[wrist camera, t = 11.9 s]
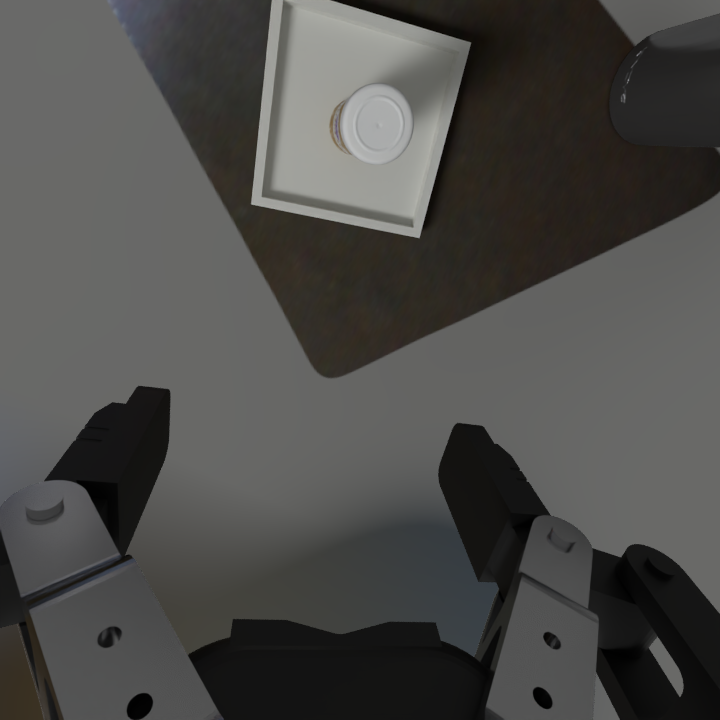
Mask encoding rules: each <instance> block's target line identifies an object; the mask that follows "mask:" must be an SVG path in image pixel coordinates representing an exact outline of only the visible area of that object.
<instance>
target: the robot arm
mask: <svg viewBox="0 0 720 720" xmlns="http://www.w3.org/2000/svg"><path fill="white" fill-rule="evenodd" d="M609 104H610V116H611V120H612V123H613V125H614V127H615V129H616V131H617V132H618V134H619V135H620V136H621V137H622V138H623V139H625V140H627V141H628V142H630V143H633V144H637V145H657V146H686V147H720V14H717V15H713V16H710V17H706V18H703V19H699V20H695V21H692V22H689V23H686V24H682V25H678V26H675V27H672V28H668V29H665V30H661V31H658V32H656V33H654V34H652V35H650V36H648V37H646V38H645V39H644V40H642V41H641V42H640V43H638V44H637V45H636V46H635V47H634V48H633V49H632V50H631V51H630V52H629V54H628V55H627V56H626V58H625V59H624V61H623V62H622V64H621V65H620V67H619V69H618V71H617V74H616V76H615V78H614V81H613V85H612V88H611V93H610V101H609ZM169 426H170V390H169V389H163V388H154V387H145V386H138V387H137V388H136V389H135V391H134V392H133V394H132V395H131V397H130V398H129V400H128V401H127V403H126V404H122V403H113V402H112V403H111V404H109V405H108V406H106V407H104V408H102V409H101V410H99V411H97V412H96V413H94V415H93V416H92V418H91V419H90V420H89V421H88V423H87V424H86V425H85V428H84V429H82V431H81V432H80V433H79V435H78V436H77V438H76V441H74V442H73V443H72V444H71V446H70V447H69V449H68V450H67V451H66V452H65V454H64V455H63V456H62V458H61V459H60V460H59V462H58V463H57V464H56V466H55V467H54V468H53V470H52V471H51V472H50V474H49V475H48V477H47V478H46V479H45V481H44V482H40V483H36V484H33V485H30V486H28V487H25V488H23V489H21V490H19V491H18V492H16V493H14V494H13V495H12V496H10V497H9V498H8V499H7V500H6V501H5V502H4V503H3V504H2V506H1V507H0V628H2V627H5V626H9V625H13V624H17V625H18V629H19V632H20V636H21V639H22V642H23V646H24V649H25V653H26V656H27V660H28V663H29V667H30V670H31V673H32V677H33V680H34V684H35V687H36V691H37V694H38V697H39V701H40V705H41V708H42V713H43V717H44V720H593V711H594V695H595V677H596V673H597V675H598V677H599V679H600V681H601V683H602V685H603V687H604V688H605V691H606V693H607V695H608V697H609V698H610V700H611V703H612V705H613V706H614V708H615V710H616V712H617V714H618V716H619V718H620V720H720V614H719V613H718V611H717V610H716V609H715V608H714V606H713V605H712V604H711V603H710V602H709V601H708V599H707V598H706V597H705V596H704V594H703V593H702V592H701V591H700V590H699V588H698V587H697V586H696V585H695V583H694V582H693V581H692V580H691V579H690V577H689V576H688V575H687V574H686V573H685V571H684V570H683V569H682V568H681V567H680V566H679V565H678V564H677V563H676V562H674V561H673V560H672V559H670V558H669V557H668V556H666V555H665V554H663V553H661V552H660V551H658V550H655V549H653V548H651V547H648V546H645V545H640V544H634V545H631V546H629V547H628V548H627V549H626V551H625V553H624V554H623V555H622V557H618V556H614V555H611V554H608V553H605V552H602V551H599V550H596V549H593V548H592V547H591V544H590V542H589V541H588V539H587V538H586V537H585V535H584V534H583V533H582V532H581V531H580V530H578V529H577V528H576V527H575V526H573V525H572V524H570V523H568V522H567V521H565V520H562V519H560V518H557V517H554V516H551V515H550V514H549V512H548V511H547V509H546V508H545V506H544V505H543V503H542V502H541V500H540V499H539V497H538V496H537V494H536V493H535V491H534V490H533V488H532V486H531V485H530V483H529V482H527V481H526V480H527V479H526V477H525V476H524V474H523V473H522V471H520V468H519V467H518V465H517V464H516V463H515V461H514V459H513V458H512V456H511V455H510V454H508V453H507V452H506V451H505V450H504V449H503V448H502V447H500V446H499V445H498V444H494V442H493V441H492V439H491V438H490V436H489V434H488V433H487V431H486V430H485V428H484V427H483V426H479V425H471V424H462V423H457V424H456V425H455V426H454V427H453V429H452V432H451V435H450V437H449V440H448V443H447V446H446V448H445V451H444V454H443V457H442V459H441V462H440V466H439V473H438V477H439V484H440V487H441V489H442V492H443V494H444V497H445V499H446V502H447V504H448V507H449V509H450V512H451V514H452V517H453V519H454V522H455V524H456V527H457V529H458V532H459V534H460V537H461V539H462V542H463V544H464V547H465V549H466V552H467V554H468V557H469V559H470V562H471V564H472V566H473V569H474V572H475V574H476V577H477V579H478V582H496V583H497V585H498V587H499V589H498V592H497V594H496V595H495V597H494V600H493V603H492V606H491V609H490V612H489V615H488V618H487V621H486V624H485V627H484V630H483V633H482V636H481V639H480V642H479V645H478V648H477V651H476V654H475V656H474V657H473V656H471V655H470V654H468V653H467V652H465V651H463V650H461V649H459V648H458V647H456V646H453V645H451V644H449V643H446V642H443V641H441V640H440V636H439V633H438V629H437V626H436V623H431V622H387V623H383V624H379V625H376V626H372V627H368V628H364V629H361V630H357V631H354V632H350V633H346V634H335V633H331V632H327V631H324V630H320V629H316V628H313V627H309V626H306V625H302V624H298V623H295V622H291V621H288V620H252V619H251V620H250V619H233V623H232V629H231V637H229V638H225V639H222V640H218V641H216V642H213V643H211V644H208V645H205V646H203V647H201V648H199V649H197V650H195V651H194V652H192V653H190V654H189V655H187V653H186V651H185V649H184V648H183V646H182V644H181V642H180V640H179V639H178V637H177V635H176V633H175V631H174V629H173V628H172V626H171V624H170V622H169V620H168V619H167V617H166V615H165V613H164V611H163V609H162V608H161V606H160V604H159V602H158V600H157V598H156V597H155V595H154V593H153V591H152V589H151V587H150V586H149V584H148V582H147V580H146V578H145V576H144V575H143V573H142V571H141V569H140V567H139V566H138V564H137V562H136V561H135V559H134V558H133V557H132V556H131V555H126V556H125V554H126V551H127V549H128V547H129V544H130V542H131V540H132V537H133V535H134V532H135V530H136V528H137V525H138V523H139V520H140V518H141V516H142V513H143V511H144V509H145V506H146V504H147V501H148V499H149V497H150V494H151V492H152V489H153V487H154V485H155V482H156V480H157V477H158V475H159V473H160V470H161V468H162V466H163V463H164V461H165V457H166V454H167V449H168V443H169ZM657 636H658V638H659V639H660V640H661V642H662V644H663V645H664V646H665V648H666V650H667V651H668V653H669V654H670V656H671V657H672V658H673V660H674V662H675V663H676V665H677V666H678V668H679V670H680V672H681V675H682V678H683V684H684V689H683V693H682V695H681V697H679V695H678V694H677V692H676V691H675V689H674V688H673V686H672V684H671V683H670V681H669V680H668V678H667V676H666V675H665V673H664V672H663V670H662V669H661V667H660V665H659V664H658V662H657V661H656V659H655V657H654V656H653V654H652V653H651V651H650V650H649V647H650V645H651V644H652V643H653V641H654V640H655V639H656V638H657Z"/></svg>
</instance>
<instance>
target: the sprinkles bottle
mask: <svg viewBox="0 0 720 720" xmlns="http://www.w3.org/2000/svg"><path fill="white" fill-rule="evenodd" d="M329 128H330V135H331V138H332V140H333V142H334V144H335V145H336V146H337V148H338V149H339V150H341V151H342V152H344V153H346V154H349V155H352V156H354V157H355V158H357V159H358V160H360V161H362V162H365V163H367V164H372V165H383V164H387V163H389V162H392V161H394V160H395V159H397V158H398V157H399V156H400V155H401V154H402V153H403V152H404V151H405V150H406V148H407V147H408V145H409V143H410V140H411V138H412V134H413V129H414V117H413V111H412V108H411V106H410V103H409V101H408V100H407V98H406V97H405V96H404V94H403V93H402V92H401V91H400V90H398V89H397V88H396V87H394V86H392V85H390V84H386V83H371V84H368V85H365V86H363V87H361V88H359V89H358V90H356V91H355V92H354V93H353V94H352V95H351V96H350V97H349V98H347V99H346V100H344V101H342V102H341V103H340V104H339V105H337V106H336V108H335V109H334V111H333V113H332V115H331V119H330V124H329Z"/></svg>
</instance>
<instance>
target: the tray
mask: <svg viewBox="0 0 720 720" xmlns="http://www.w3.org/2000/svg"><path fill="white" fill-rule="evenodd" d="M470 45H471V43H470V42H467V41H464V40H460V39H457V38H454V37H451V36H447V35H444V34H441V33H437V32H434V31H431V30H427V29H424V28H421V27H417V26H414V25H411V24H407V23H404V22H401V21H397V20H394V19H391V18H387V17H384V16H381V15H378V14H374V13H371V12H368V11H364V10H361V9H358V8H354V7H351V6H348V5H344V4H341V3H338V2H334V1H331V0H272V6H271V16H270V25H269V35H268V45H267V55H266V65H265V75H264V84H263V94H262V104H261V114H260V124H259V134H258V144H257V153H256V163H255V173H254V183H253V193H252V203H251V204H252V205H257V206H262V207H267V208H272V209H277V210H282V211H287V212H292V213H297V214H302V215H307V216H312V217H317V218H322V219H327V220H332V221H337V222H342V223H347V224H352V225H357V226H362V227H367V228H372V229H377V230H382V231H387V232H392V233H397V234H402V235H407V236H412V237H417V238H420V234H421V230H422V226H423V223H424V219H425V215H426V211H427V207H428V204H429V200H430V196H431V192H432V189H433V185H434V181H435V177H436V173H437V170H438V166H439V162H440V158H441V155H442V151H443V147H444V143H445V139H446V136H447V132H448V128H449V124H450V121H451V117H452V113H453V109H454V105H455V102H456V98H457V94H458V90H459V87H460V83H461V79H462V75H463V71H464V68H465V64H466V60H467V56H468V53H469V49H470ZM371 83H386V84H390V85H392V86H394V87H396V88H397V89H398V90H400V91H401V92H402V93H403V94H404V96H405V97H406V98H407V100H408V101H409V103H410V106H411V108H412V111H413V117H414V129H413V134H412V138H411V140H410V143H409V145H408V147H407V148H406V150H405V151H404V152H403V153H402V154H401V155H400V156H399V157H398V158H397V159H395V160H394V161H392V162H389V163H387V164H383V165H372V164H367V163H365V162H362V161H360V160H358V159H357V158H355V157H354V156H352V155H349V154H346V153H344V152H342V151H341V150H339V149H338V148H337V146H336V145H335V144H334V142H333V140H332V138H331V135H330V128H329V124H330V119H331V115H332V113H333V111H334V109H335V108H336V106H337V105H339V104H340V103H341V102H342V101H344V100H346V99H347V98H349V97H350V96H351V95H352V94H353V93H354V92H355V91H356V90H358V89H359V88H361V87H363V86H365V85H368V84H371Z"/></svg>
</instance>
